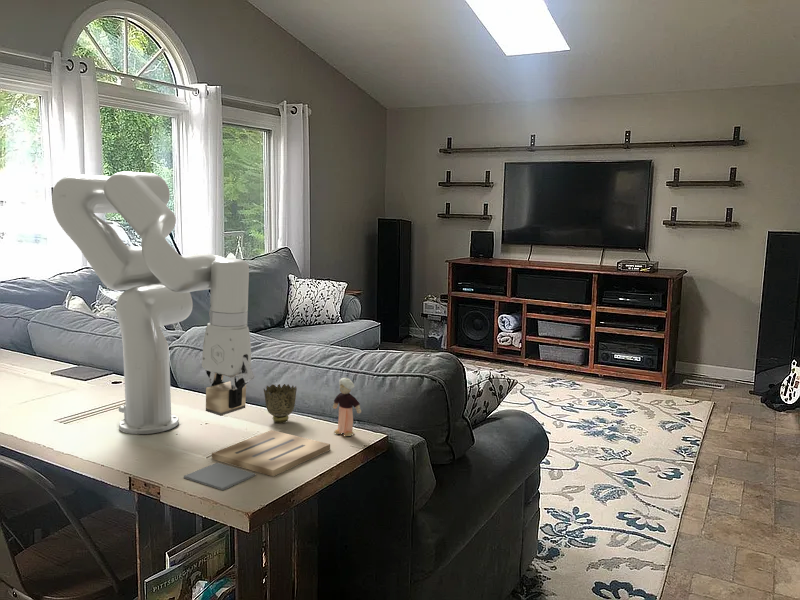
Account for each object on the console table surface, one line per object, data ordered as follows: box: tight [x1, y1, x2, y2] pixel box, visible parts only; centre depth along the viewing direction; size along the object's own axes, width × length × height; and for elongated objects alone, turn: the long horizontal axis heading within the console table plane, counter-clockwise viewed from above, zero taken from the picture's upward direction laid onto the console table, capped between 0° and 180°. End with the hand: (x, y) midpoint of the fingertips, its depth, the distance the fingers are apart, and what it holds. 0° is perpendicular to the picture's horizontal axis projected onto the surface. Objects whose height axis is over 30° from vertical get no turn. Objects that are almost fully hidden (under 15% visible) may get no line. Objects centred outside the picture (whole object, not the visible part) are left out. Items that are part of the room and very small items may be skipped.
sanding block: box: [205, 380, 247, 417], centre depth 146 cm, size 4×7×5 cm, turn 148°
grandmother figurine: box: [332, 377, 362, 437], centre depth 151 cm, size 8×4×13 cm, turn 66°
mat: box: [183, 462, 256, 491], centre depth 128 cm, size 10×8×1 cm
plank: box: [211, 429, 331, 477], centre depth 139 cm, size 16×17×1 cm
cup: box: [263, 383, 297, 424], centre depth 160 cm, size 8×7×8 cm
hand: (226, 403), depth 146 cm, fingers closed on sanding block, 4 cm apart
